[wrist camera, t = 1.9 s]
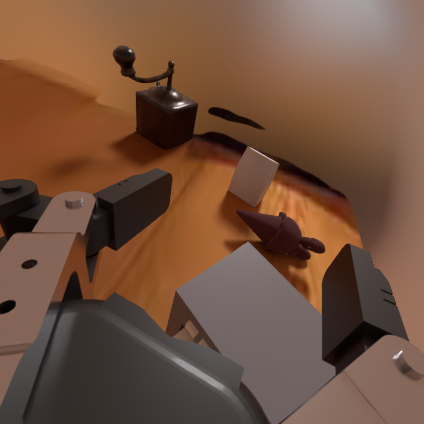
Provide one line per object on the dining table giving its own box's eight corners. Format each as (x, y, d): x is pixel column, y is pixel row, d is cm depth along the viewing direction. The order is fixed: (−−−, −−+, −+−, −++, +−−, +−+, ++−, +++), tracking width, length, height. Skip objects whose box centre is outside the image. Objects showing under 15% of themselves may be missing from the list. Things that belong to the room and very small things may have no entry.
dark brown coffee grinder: (163, 120, 62) (168, 42, 49) (193, 138, 59) (207, 60, 46) (115, 135, 52) (106, 42, 39) (149, 158, 49) (151, 64, 36)
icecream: (233, 218, 33) (325, 269, 32) (251, 184, 36) (335, 229, 35) (222, 235, 39) (299, 279, 38) (239, 204, 43) (310, 243, 42)
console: (161, 343, 26) (172, 292, 16) (213, 300, 30) (248, 241, 20) (322, 610, 16) (598, 899, 6) (362, 489, 21) (556, 548, 11)
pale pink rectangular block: (254, 207, 45) (274, 168, 38) (227, 190, 47) (242, 149, 40) (262, 199, 48) (282, 160, 41) (236, 183, 50) (252, 143, 43)
